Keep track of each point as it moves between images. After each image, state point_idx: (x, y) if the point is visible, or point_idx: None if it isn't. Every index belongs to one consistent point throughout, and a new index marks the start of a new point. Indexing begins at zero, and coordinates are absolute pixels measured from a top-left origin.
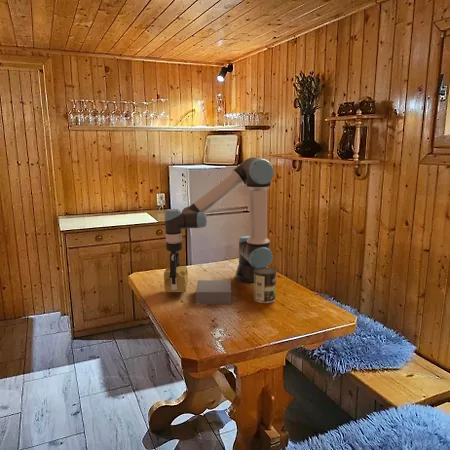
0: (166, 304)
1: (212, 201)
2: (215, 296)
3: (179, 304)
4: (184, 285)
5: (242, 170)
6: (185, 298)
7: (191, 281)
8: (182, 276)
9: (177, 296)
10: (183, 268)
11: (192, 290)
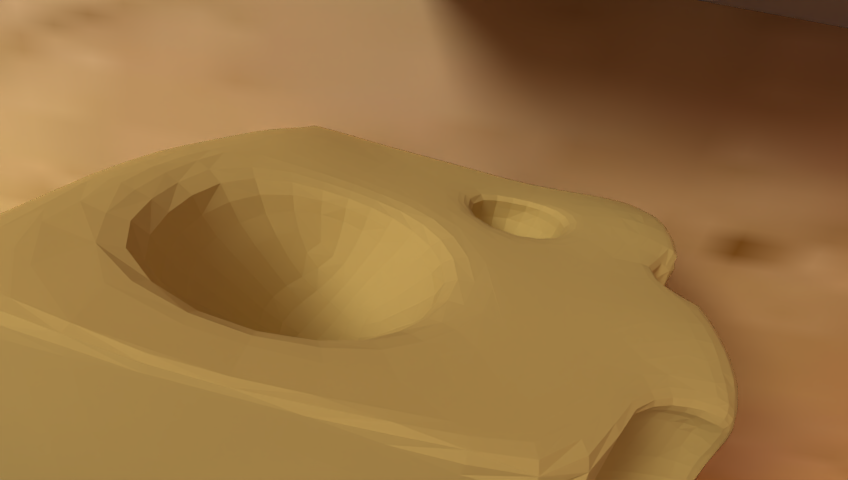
0: (750, 426)
1: None
2: None
3: (840, 298)
4: (668, 274)
5: None
6: (649, 187)
7: (20, 6)
8: (697, 463)
9: None
10: (220, 466)
11: (360, 37)
